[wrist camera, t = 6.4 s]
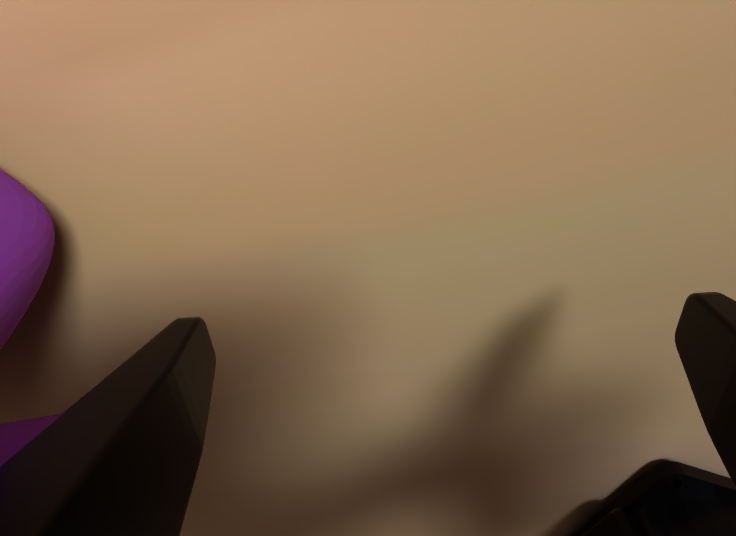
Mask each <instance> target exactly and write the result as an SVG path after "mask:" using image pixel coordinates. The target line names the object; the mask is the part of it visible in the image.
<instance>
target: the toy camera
mask: <svg viewBox="0 0 736 536" xmlns="http://www.w3.org/2000/svg"><path fill="white" fill-rule="evenodd" d="M54 244H55V231H54V224H53V220H52V217H51V215H50V213H49V212H48V210H47V209H46V207H45V206H44V204H43V203H42V202H41V201H40V200H39V199H38V198H37V197H36V196H34V195H33V194H32V193H31V192H30V191H29V190H28V189H26V188H25V187H24V186H23V185H22V184H21V183H19V182H18V181H17V180H15V179H14V178H13V177H11V176H10V175H8V174H7V173H6V172H4V171H3V170H1V169H0V350H1V349H2V347H3V346H4V345H5V343H6V342H7V340H8V339H9V337H10V336H11V334H12V333H13V331H14V330H15V328H16V327H17V325H18V323H19V322H20V320H21V319H22V317H23V316H24V314H25V313H26V311H27V309H28V307H29V306H30V304H31V302H32V300H33V299H34V297H35V295H36V293H37V291H38V290H39V288H40V286H41V284H42V281H43V279H44V276H45V274H46V272H47V269H48V267H49V264H50V261H51V257H52V253H53V249H54ZM61 415H62V414H59V415H53V416H47V417H41V418H35V419H29V420H23V421H17V422H11V423H5V424H0V466H1V465H2V464H4V463H5V462H6V461H7V460H8V459H10V458H11V457H12V456H13V455H14V454H16V453H17V452H18V451H19V450H20V449H22V448H23V447H24V446H25V445H26V444H28V443H29V442H30V441H31V440H32V439H33V438H35V437H36V436H37V435H38V434H39V433H41V432H42V431H43V430H44V429H45V428H47V427H48V426H49V425H50V424H51V423H53V422H54V421H55V420H56V419H57V418H59V417H60V416H61Z"/></svg>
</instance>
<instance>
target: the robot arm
mask: <svg viewBox="0 0 736 536" xmlns="http://www.w3.org/2000/svg"><path fill="white" fill-rule="evenodd" d="M675 344H676V347H677V350H678V353H679V356H680V359H681V361H682V364H683V367H684V370H685V372H686V375H687V378H688V380H689V383H690V386H691V389H692V391H693V394H694V397H695V400H696V402H697V405H698V408H699V411H700V413H701V416H702V419H703V421H704V423H705V426H706V428H707V431H708V433H709V435H710V437H711V439H712V441H713V444H714V446H715V448H716V450H717V452H718V454H719V456H720V458H721V460H722V462H723V464H724V466H725V468H726V470H727V472H728V473H729V475H730V477H731V479H730V478H727V477H724V476H720V475H717V474H714V473H711V472H708V471H704V470H701V469H698V468H695V467H692V466H688V465H685V464H682V463H679V462H664V463H661V464H658V465H657V466H655V467H653V468H652V469H651V470H650V471H649V472H647V473H646V474H645V475H644V476H643V477H641V478H640V479H639V480H638V481H637V482H636V483H634V484H633V485H632V486H631V487H630V488H628V489H627V490H626V491H625V492H624V493H623V494H621V495H620V496H619V497H618V498H617V499H616V500H614V501H613V502H612V503H611V504H610V505H608V506H607V507H606V508H605V509H604V510H603V511H601V512H600V513H599V514H598V515H597V516H596V517H594V518H593V519H592V520H591V521H590V522H588V523H587V524H586V525H585V526H584V527H583V528H581V529H580V530H579V531H578V532H577V533H575V534H574V535H573V536H736V301H735V300H733V299H731V298H729V297H727V296H725V295H723V294H721V293H718V292H705V293H693V294H691V295H689V296H688V298H687V299H686V301H685V304H684V307H683V310H682V313H681V316H680V319H679V322H678V325H677V328H676V332H675ZM215 366H216V358H215V352H214V349H213V346H212V342H211V339H210V336H209V333H208V330H207V326H206V324H205V322H204V320H203V319H202V318H200V317H187V318H178V319H176V320H174V321H173V322H172V323H171V324H169V325H168V326H167V327H166V328H165V329H163V330H162V331H161V332H160V333H159V334H157V335H156V336H155V337H154V338H153V339H151V340H150V341H149V342H148V343H147V344H146V345H144V346H143V347H142V348H141V349H140V350H138V351H137V352H136V353H135V354H134V355H132V356H131V357H130V358H129V359H128V360H126V361H125V362H124V363H123V364H122V365H120V366H119V367H118V368H117V369H116V370H115V371H113V372H112V373H111V374H110V375H109V376H107V377H106V378H105V379H104V380H103V381H101V382H100V383H99V384H98V385H97V386H95V387H94V388H93V389H92V390H91V391H89V392H88V393H87V394H86V395H85V396H84V397H82V398H81V399H80V400H79V401H78V402H76V403H75V404H74V405H73V406H72V407H70V408H69V409H68V410H67V411H66V412H64V413H63V414H62V415H61V416H60V417H59V418H57V419H56V420H55V421H54V422H53V423H51V424H50V425H49V426H48V427H47V428H45V429H44V430H43V431H42V432H41V433H39V434H38V435H37V436H36V437H35V438H33V439H32V440H31V441H30V442H29V443H28V444H26V445H25V446H24V447H23V448H22V449H20V450H19V451H18V452H17V453H16V454H14V455H13V456H12V457H11V458H10V459H8V460H7V461H6V462H5V463H4V464H2V465H1V466H0V536H179V535H180V531H181V527H182V524H183V520H184V516H185V513H186V509H187V506H188V502H189V498H190V495H191V491H192V487H193V484H194V480H195V476H196V473H197V469H198V466H199V462H200V458H201V454H202V450H203V444H204V439H205V433H206V426H207V419H208V413H209V406H210V400H211V393H212V386H213V380H214V373H215Z"/></svg>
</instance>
